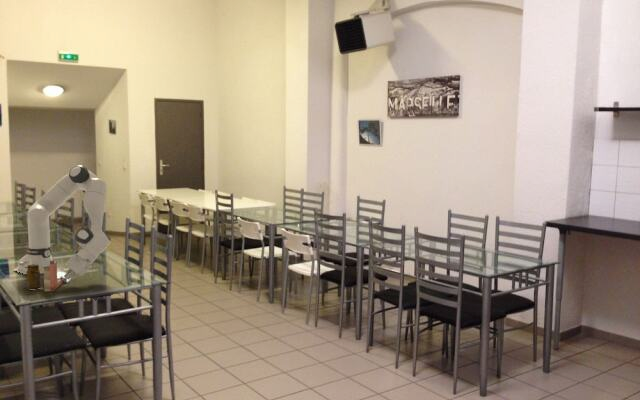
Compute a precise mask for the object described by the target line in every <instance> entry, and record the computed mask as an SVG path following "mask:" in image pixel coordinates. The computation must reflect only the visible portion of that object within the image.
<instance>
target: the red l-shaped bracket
mask: <svg viewBox="0 0 640 400" xmlns="http://www.w3.org/2000/svg"><path fill="white" fill-rule="evenodd" d="M57 263H58V261H57V260H54V259H52V260H50V291H49V292H52V293H53V292H55V291H56V290H57V289H58V288H59V287H60V286H61V285H62V280H58V281H57V279H58V265H57Z"/></svg>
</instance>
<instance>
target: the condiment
mask: <svg viewBox="0 0 640 400" xmlns="http://www.w3.org/2000/svg"><path fill="white" fill-rule="evenodd" d="M27 268H28V269H27V275H26V287H27V288H28V289H38V288H40V287H41V288H40V290H45V289H44V286H41V274H40V270H39V265H35V264H34V265H28V267H27Z"/></svg>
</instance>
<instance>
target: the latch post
mask: <svg viewBox="0 0 640 400" xmlns="http://www.w3.org/2000/svg"><path fill="white" fill-rule="evenodd" d="M43 268H44V273H43V281H44V282H43V283H44V286H43V288H44V289H43V290H44V292H50V265H44V266H43Z"/></svg>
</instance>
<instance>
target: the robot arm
mask: <svg viewBox="0 0 640 400" xmlns="http://www.w3.org/2000/svg"><path fill="white" fill-rule="evenodd" d="M78 190H81V191H82V192H83V193H84V195H83V207H84V209H85V212H86V213H87V215H88V217H89V219H90V223H91V225H90V228H89V227H82V228H80V229H78V230H77V231H76V232H75V234H74V240H75V242H76V243H77V244H78V245H79V246H80V247H81V249H79V250H77V249H76V250H75V251H74V254H72V255H71V256H70V257H69V259H68V260H67V261H66V262H65V266H66V268H67V271H66V272H65V273H64V275H63V278H67V281H68V280H70V279H71V278H73V277H74V276H75V275H77V276H79V277H80V278H82V277H83V276H84V275H85V274H86V273H87V272H88V271H89V269H90V268H91V265H92V264H93V263H94V262H95V261H96V260H97V259H98V257H99V256H100V255H101V254H102V253H103V252H104V251H105V250H107V248H108V247H109V245H110V244H111V242H112V240H111V237H110V236H109V235H108V234H107V233H106V232H105V231H104V218H105V216H104V215H105V214H104V213H105V211H104V210H105V202H106V198H107V184H106V182H105V181H104V180H103V179H101V178H99V177H98V176H97V175H96V174H95V173H94V172H93V171H91V170H89V169H88V168H87V167H85V166H83V165H82V164H81V165H80V164H79V165H78V164H77V165H75V166H73V167H72V168H71V169H70V171H69V172H68V173H67V174H65V175H64V176H62V177H61V178H60V179H59V180H57V182H55V184H53V185H52V186H51V187H50V188H49V189H48V190H47V191H46V192H45V193H44V194H43V195H41V197H39V198H38V199H37V200H36V201H35V202H34V203H33V204H32V205H31V206H30V207H29V208H28V210H27V214H26V218H27V231H28V233H27V234H28V247H27V248H26V249H25V251H26V254H25V255H24V256H23V257H22V258H20V259H19V260H18V263H17V267H16V268H14V269H13V272H15V271H17V272H16V273H19V272H20V273H19V274H22V273H23V275H26V274H27V269H28V268H27V267H28V265H34V264H35V265H39V270H40V275H41V274H44V268H43V266H44V265H50V260H53V256H52V247H51V232H50V230H51V229H50V216H51V215H52V214H53V213H55V212H56V211H57V210H59V208H60V207H62V206H63V205H64V204H65V202H67V201H68V200H69V199H70V198H71V197H72V196H73V195H74V194H75V193H76V192H77V191H78Z"/></svg>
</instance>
